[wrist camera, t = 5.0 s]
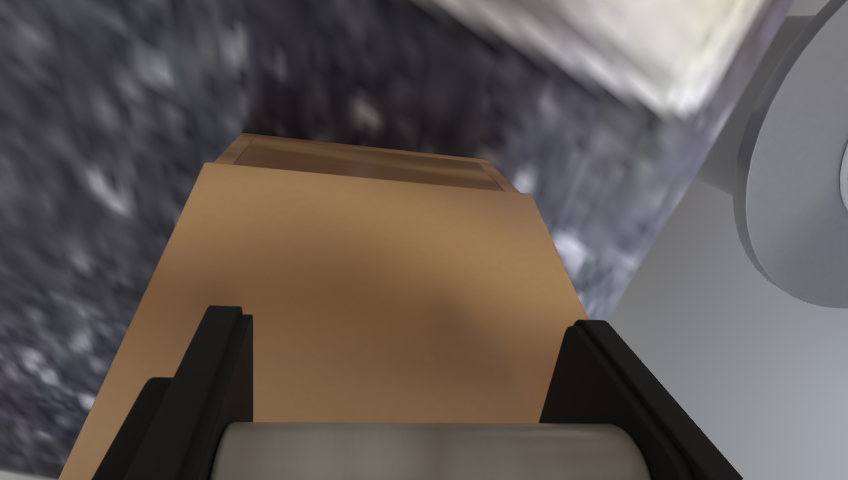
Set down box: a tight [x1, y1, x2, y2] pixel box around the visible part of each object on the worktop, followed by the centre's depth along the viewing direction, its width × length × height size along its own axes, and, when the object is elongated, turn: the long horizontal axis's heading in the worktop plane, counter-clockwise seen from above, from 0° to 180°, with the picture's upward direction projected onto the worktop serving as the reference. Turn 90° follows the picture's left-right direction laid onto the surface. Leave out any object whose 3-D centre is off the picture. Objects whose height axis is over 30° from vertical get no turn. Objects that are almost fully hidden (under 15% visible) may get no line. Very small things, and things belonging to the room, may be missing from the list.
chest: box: [214, 133, 520, 193], centre depth 27 cm, size 16×14×7 cm
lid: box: [59, 162, 652, 480], centre depth 13 cm, size 16×14×6 cm
